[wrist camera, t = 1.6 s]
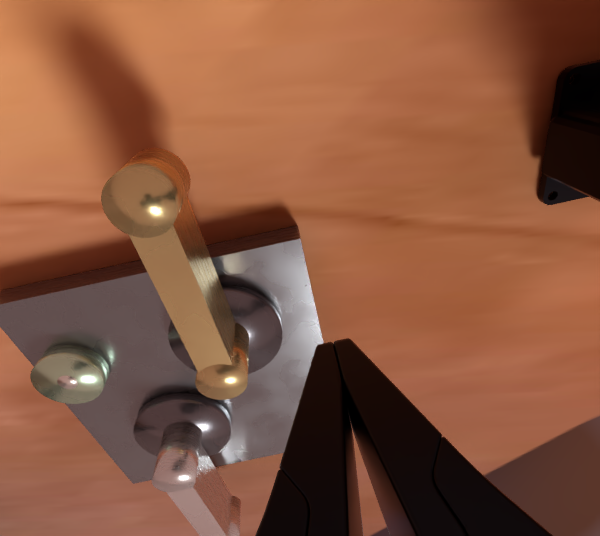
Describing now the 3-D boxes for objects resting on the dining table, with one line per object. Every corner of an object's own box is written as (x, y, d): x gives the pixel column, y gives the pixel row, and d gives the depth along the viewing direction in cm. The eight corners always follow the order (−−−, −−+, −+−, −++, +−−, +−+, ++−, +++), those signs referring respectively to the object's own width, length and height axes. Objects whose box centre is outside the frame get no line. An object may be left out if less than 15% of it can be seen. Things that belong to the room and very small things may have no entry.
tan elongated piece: (291, 356, 22) (297, 409, 19) (193, 377, 22) (182, 433, 19) (224, 127, 15) (215, 150, 12) (80, 160, 15) (33, 192, 12)
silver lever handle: (119, 404, 23) (97, 463, 19) (214, 384, 22) (207, 440, 19) (194, 507, 30) (186, 562, 26) (266, 492, 29) (267, 546, 26)
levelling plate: (297, 225, 19) (302, 249, 17) (340, 422, 28) (347, 453, 26) (2, 290, 19) (-30, 321, 17) (138, 463, 29) (128, 498, 26)
